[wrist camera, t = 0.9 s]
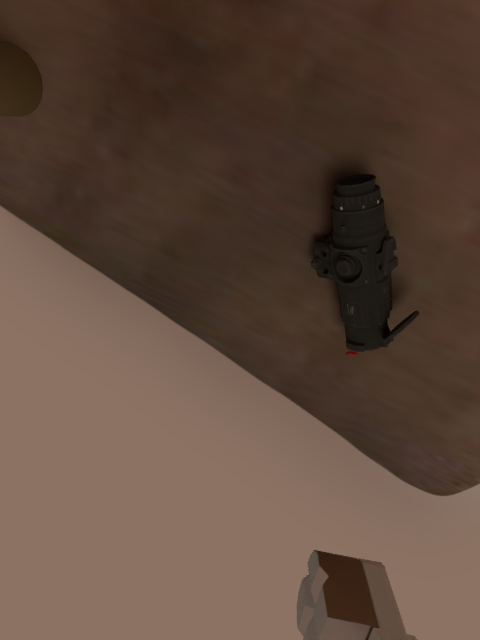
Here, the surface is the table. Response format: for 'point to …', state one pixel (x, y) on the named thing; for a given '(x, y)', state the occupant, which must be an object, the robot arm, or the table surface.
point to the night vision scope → (360, 263)
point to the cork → (18, 82)
